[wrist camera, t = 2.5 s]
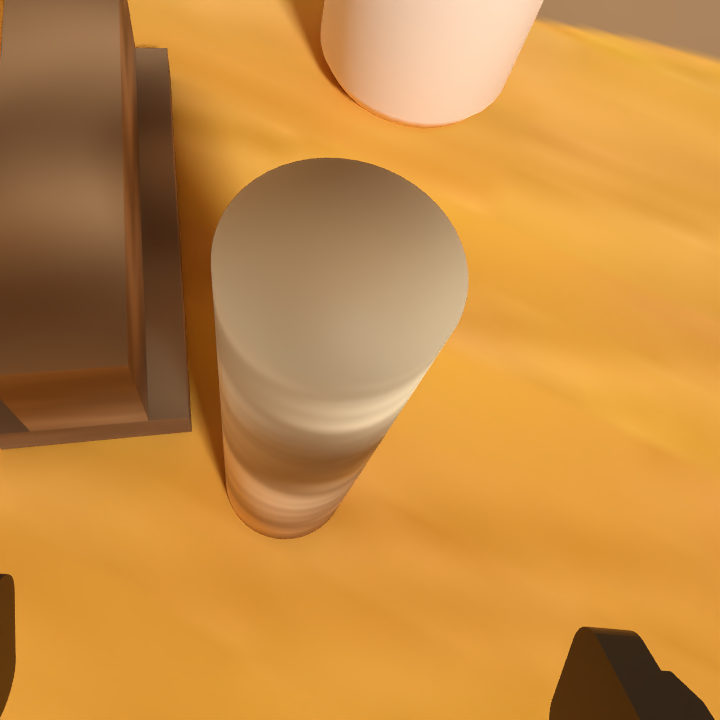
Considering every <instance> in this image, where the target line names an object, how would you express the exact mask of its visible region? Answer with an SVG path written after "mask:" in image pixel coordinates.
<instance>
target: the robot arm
mask: <svg viewBox="0 0 720 720" xmlns="http://www.w3.org/2000/svg"><path fill="white" fill-rule="evenodd" d="M15 661H16V654H15V591H14V581H13V578H12V576H11V575H9V574H0V717H1V715H2V712H3V710H4V708H5V705H6V703H7V700H8V697H9V694H10V690H11V686H12V682H13V678H14V672H15ZM549 720H714V718H713V716H712V715H711V713H710V712H709V710H708V709H707V707H706V706H705V704H704V703H703V701H702V700H700V699H699V698H698V697H697V696H696V695H695V694H694V693H693V692H692V691H691V690H690V689H689V688H688V687H687V686H686V685H685V684H684V683H683V682H681V681H680V680H679V679H678V678H677V677H676V676H675V675H674V674H673V673H672V672H671V671H661V670H660V668H659V666H658V665H657V663H656V662H655V660H654V658H653V657H652V655H651V653H650V652H649V650H648V648H647V647H646V645H645V643H644V642H643V640H642V639H641V637H640V636H639V635H638V634H637V633H635V632H634V631H629V630H618V629H607V628H595V627H582V628H580V629H579V630H578V631H577V632H576V634H575V636H574V639H573V642H572V645H571V647H570V650H569V653H568V656H567V659H566V662H565V665H564V667H563V670H562V673H561V676H560V679H559V682H558V685H557V688H556V690H555V693H554V696H553V699H552V702H551V707H550V714H549Z"/></svg>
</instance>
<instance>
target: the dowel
mask: <svg viewBox="0 0 720 720" xmlns="http://www.w3.org/2000/svg"><path fill="white" fill-rule="evenodd" d="M211 275H212V289H213V304H214V318H215V333H216V347H217V361H218V376H219V390H220V405H221V419H222V433H223V448H224V462H225V477H226V488H227V494H228V498H229V501H230V503H231V506H232V508H233V509H234V511H235V513H236V514H237V516H238V517H239V518H240V519H241V520H242V521H243V522H244V523H245V524H246V525H247V526H248V527H250V528H251V529H253V530H254V531H256V532H258V533H260V534H262V535H265V536H268V537H272V538H277V539H293V538H298V537H302V536H305V535H308V534H310V533H312V532H314V531H316V530H317V529H319V528H320V527H321V526H323V525H324V524H325V523H326V522H327V521H328V520H329V519H330V518H331V516H332V515H333V514H334V512H335V511H336V509H337V508H338V506H339V505H340V503H341V502H342V500H343V499H344V497H345V495H346V494H347V492H348V491H349V489H350V488H351V486H352V485H353V483H354V482H355V480H356V479H357V477H358V476H359V474H360V473H361V471H362V470H363V468H364V466H365V465H366V463H367V462H368V460H369V459H370V457H371V456H372V454H373V453H374V451H375V450H376V448H377V447H378V445H379V444H380V442H381V441H382V439H383V437H384V436H385V434H386V433H387V431H388V430H389V428H390V427H391V425H392V424H393V422H394V421H395V419H396V418H397V416H398V415H399V413H400V412H401V410H402V408H403V407H404V405H405V404H406V402H407V401H408V399H409V398H410V396H411V395H412V393H413V392H414V390H415V389H416V387H417V386H418V384H419V383H420V381H421V379H422V378H423V376H424V375H425V373H426V372H427V370H428V369H429V367H430V366H431V364H432V363H433V361H434V360H435V358H436V357H437V355H438V354H439V352H440V351H441V349H442V347H443V346H444V344H445V343H446V341H447V340H448V338H449V337H450V335H451V334H452V332H453V331H454V329H455V328H456V326H457V324H458V322H459V320H460V317H461V315H462V313H463V310H464V306H465V303H466V299H467V291H468V268H467V262H466V256H465V253H464V250H463V247H462V243H461V241H460V239H459V237H458V235H457V232H456V230H455V228H454V227H453V225H452V224H451V222H450V221H449V219H448V217H447V216H446V215H445V213H444V212H443V211H442V210H441V209H440V207H439V206H438V205H437V204H436V203H435V202H434V201H433V200H432V199H431V198H430V197H429V196H428V195H427V194H426V193H424V192H423V191H422V190H420V189H419V188H418V187H417V186H415V185H414V184H412V183H411V182H409V181H408V180H406V179H404V178H403V177H401V176H399V175H397V174H395V173H393V172H391V171H389V170H386V169H384V168H381V167H378V166H375V165H373V164H369V163H365V162H361V161H356V160H349V159H343V158H316V159H307V160H301V161H296V162H292V163H289V164H286V165H282V166H280V167H277V168H275V169H273V170H271V171H268V172H266V173H265V174H263V175H261V176H260V177H258V178H256V179H255V180H253V181H252V182H251V183H249V184H248V185H247V186H246V187H244V188H243V189H242V190H241V191H240V192H239V193H238V194H237V195H236V196H235V197H234V199H233V200H232V201H231V202H230V204H229V205H228V207H227V208H226V210H225V211H224V213H223V215H222V217H221V219H220V221H219V223H218V225H217V228H216V231H215V234H214V238H213V243H212V250H211Z"/></svg>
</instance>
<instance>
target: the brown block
mask: <svg viewBox="0 0 720 720" xmlns="http://www.w3.org/2000/svg"><path fill="white" fill-rule="evenodd" d="M190 431H192V425H191V408H190V392H189V376H188V359H187V343H186V326H185V310H184V293H183V277H182V260H181V244H180V227H179V211H178V195H177V178H176V162H175V145H174V129H173V112H172V96H171V79H170V70H169V61H168V52H167V48H135V43H134V37H133V32H132V26H131V20H130V14H129V8H128V2H127V0H4V11H3V26H2V42H1V58H0V448H1V449H11V448H22V447H32V446H43V445H53V444H64V443H74V442H85V441H95V440H106V439H116V438H127V437H138V436H148V435H159V434H169V433H180V432H190Z"/></svg>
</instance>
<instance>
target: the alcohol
mask: <svg viewBox="0 0 720 720" xmlns="http://www.w3.org/2000/svg"><path fill="white" fill-rule="evenodd" d="M543 1H544V0H324V8H323V15H322V23H321V46H322V50H323V54H324V58H325V60H326V61H327V63H328V65H329V67H330V69H331V71H332V73H333V75H334V76H335V78H336V79H337V81H338V83H339V84H340V86H341V87H342V88H343V89H344V91H345V92H346V93H347V94H348V96H349V97H351V98H352V99H353V100H354V101H355V102H356V103H357V104H359V105H360V106H361V107H362V108H364V109H366V110H367V111H369V112H370V113H372V114H374V115H375V116H378V117H380V118H382V119H385V120H387V121H389V122H393V123H396V124H400V125H404V126H409V127H418V128H435V127H443V126H447V125H451V124H455V123H457V122H459V121H462V120H464V119H466V118H468V117H470V116H472V115H474V114H477V113H479V112H481V111H482V110H483V109H485V108H486V107H487V106H489V105H490V104H491V103H493V102H494V100H495V99H496V98H497V96H498V95H499V94H500V93H501V91H502V89H503V87H504V85H505V83H506V81H507V78H508V76H509V74H510V72H511V70H512V68H513V65H514V63H515V61H516V59H517V57H518V55H519V52H520V50H521V48H522V46H523V44H524V42H525V40H526V37H527V35H528V33H529V31H530V29H531V27H532V24H533V22H534V20H535V18H536V16H537V14H538V11H539V9H540V7H541V5H542V3H543Z"/></svg>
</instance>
